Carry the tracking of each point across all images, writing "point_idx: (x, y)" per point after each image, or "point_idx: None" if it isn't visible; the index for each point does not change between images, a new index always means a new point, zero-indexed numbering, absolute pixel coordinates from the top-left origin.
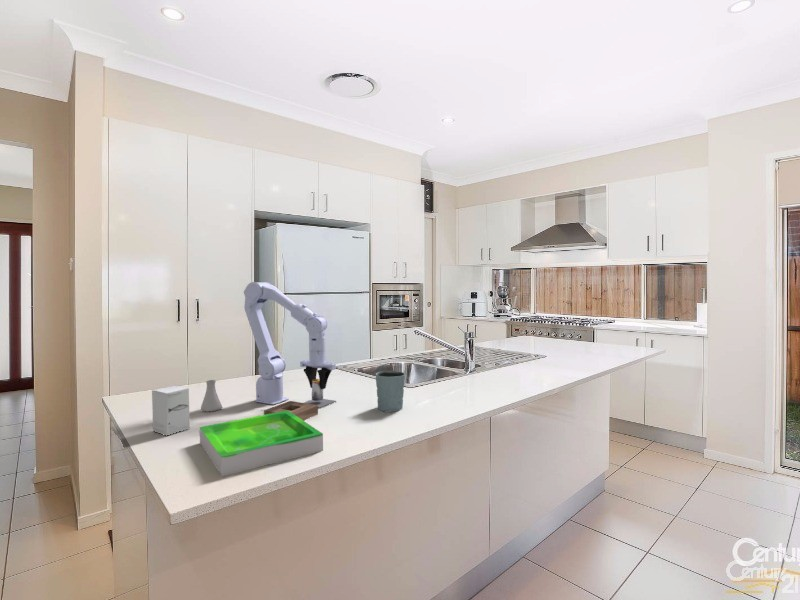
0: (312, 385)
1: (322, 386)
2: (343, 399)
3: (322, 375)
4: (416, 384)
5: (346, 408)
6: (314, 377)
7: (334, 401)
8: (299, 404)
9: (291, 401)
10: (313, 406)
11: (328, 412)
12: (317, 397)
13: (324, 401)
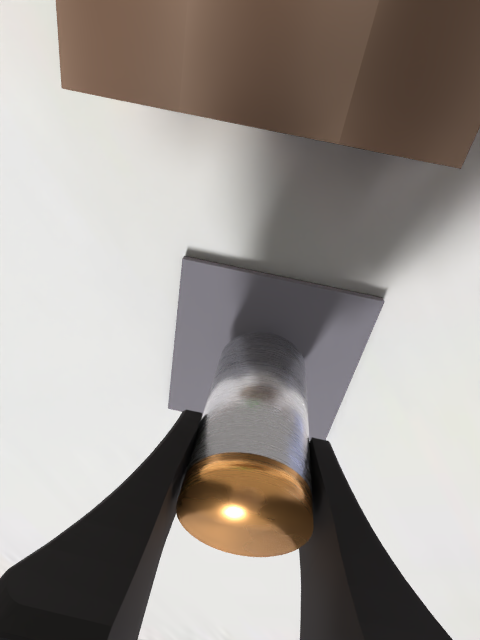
0: (285, 436)
1: (173, 432)
2: None
3: (64, 537)
4: None
5: (25, 300)
6: (309, 572)
7: (169, 396)
8: (278, 46)
9: (435, 146)
10: (71, 18)
11: (68, 180)
12: (236, 350)
13: None
